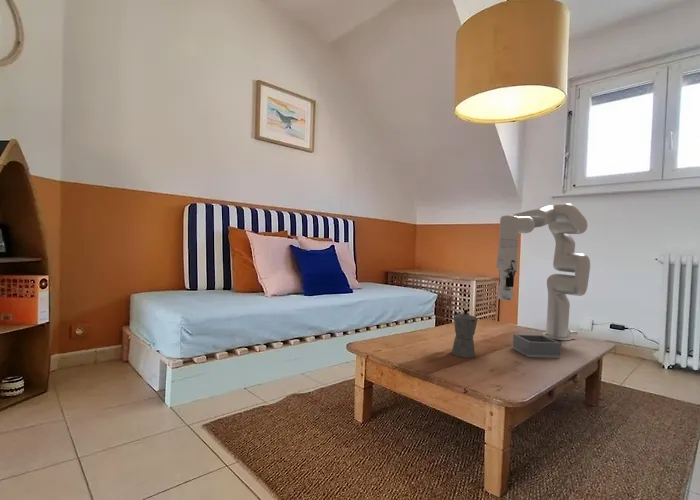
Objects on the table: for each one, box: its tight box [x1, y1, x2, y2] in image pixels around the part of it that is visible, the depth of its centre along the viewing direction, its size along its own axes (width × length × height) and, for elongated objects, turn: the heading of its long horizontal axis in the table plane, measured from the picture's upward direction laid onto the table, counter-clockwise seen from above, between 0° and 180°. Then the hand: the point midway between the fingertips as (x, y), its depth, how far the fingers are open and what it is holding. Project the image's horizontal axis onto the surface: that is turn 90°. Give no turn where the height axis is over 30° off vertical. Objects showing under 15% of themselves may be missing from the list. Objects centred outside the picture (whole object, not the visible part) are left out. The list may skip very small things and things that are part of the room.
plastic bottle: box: [497, 264, 514, 302], centre depth 162 cm, size 6×7×20 cm
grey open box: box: [512, 333, 562, 359], centre depth 156 cm, size 13×12×6 cm
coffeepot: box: [451, 308, 478, 359], centre depth 150 cm, size 15×9×18 cm, turn 12°
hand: (506, 285), depth 162 cm, fingers closed on plastic bottle, 5 cm apart
